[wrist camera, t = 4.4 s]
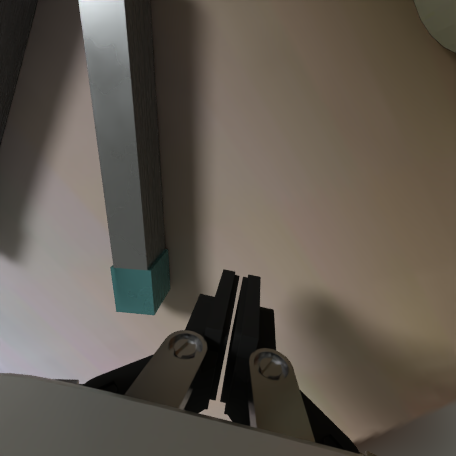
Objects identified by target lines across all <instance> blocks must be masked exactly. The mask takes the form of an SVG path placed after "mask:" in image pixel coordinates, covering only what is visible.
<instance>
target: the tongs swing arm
mask: <svg viewBox="0 0 456 456" xmlns="http://www.w3.org/2000/svg"><path fill="white" fill-rule="evenodd" d="M78 1H79V8H80V16H81V23H82V31H83V39H84V46H85V54H86V61H87V69H88V76H89V84H90V92H91V99H92V107H93V114H94V122H95V129H96V137H97V145H98V152H99V160H100V167H101V175H102V182H103V190H104V198H105V205H106V213H107V220H108V228H109V235H110V243H111V251H112V258H113V266H112V267H110V268H111V275H112V283H113V290H114V297H115V304H116V312H126V313H136V314H147V315H155V313H156V312H157V310H158V308H159V307H160V305H161V303H162V302H163V300H164V298H165V297H166V295H167V293H168V292H169V290H170V274H169V257H168V249H165V238H164V222H163V205H162V189H161V172H160V156H159V139H158V123H157V106H156V90H155V73H154V57H153V40H152V24H151V7H150V0H78Z"/></svg>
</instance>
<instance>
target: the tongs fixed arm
mask: <svg viewBox="0 0 456 456" xmlns="http://www.w3.org/2000/svg"><path fill="white" fill-rule="evenodd" d="M37 1H38V0H0V144H1V140H2V136H3V132H4V128H5V124H6V121H7V117H8V113H9V109H10V105H11V101H12V97H13V93H14V90H15V86H16V82H17V78H18V74H19V70H20V66H21V63H22V59H23V55H24V51H25V47H26V43H27V39H28V35H29V32H30V28H31V24H32V20H33V16H34V12H35V8H36V5H37Z"/></svg>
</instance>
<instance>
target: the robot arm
mask: <svg viewBox="0 0 456 456" xmlns="http://www.w3.org/2000/svg"><path fill="white" fill-rule="evenodd" d="M238 281H239V276H237V275H235V272H234V271H229V270H223V273H222V276H221V279H220V283H219V286H218V289H217V292H216V295H215V297H212V296H208V295H203V294H200V296H199V298H198V300H197V303H196V305H195V307H194V310H193V312H192V315H191V317H190V319H189V322H188V324H187V327H186V329H185V330H181V331H176V332H174V333H172V334H170V335H169V336H168V337H167V338H166V339H165V340H164V342H163V343H162V344H161V346H160V347H159V348H158V350H157V351H156V352H155V354H154V355H151V356H148V357H146V358H143V359H141V360H138V361H136V362H133V363H130V364H128V365H125V366H123V367H120V368H118V369H115V370H112V371H110V372H107V373H105V374H102V375H100V376H97V377H95V378H93V379H91V380H89V381H88V382H86V383H85V384H79V380H64V379H48V378H43V377H37V376H32V375H23V374H13V373H0V456H377V455H375V454H372V453H370V452H368V451H366V452H365V454H362V453H360V452H359V451H358V449H357V447H356V446H355V445H354V444H353V442H352V441H351V440H350V439H349V438H348V437H347V436H346V435H345V434H344V433H343V432H342V431H341V430H340V429H339V428H338V427H337V426H336V425H335V424H334V423H333V422H332V421H331V420H330V419H329V418H328V417H327V416H326V415H325V414H324V413H323V412H322V411H321V410H320V409H319V408H318V407H317V406H316V405H315V404H314V403H313V402H312V401H311V400H310V399H309V398H308V397H307V396H306V395H305V394H304V393H303V392H302V391H301V390H300V389H299V386H298V383H297V379H296V376H295V373H294V369H293V367H292V365H291V362H290V361H289V360H288V359H287V358H286V357H285V356H284V355H283V354H281V353H280V352H278V351H276V341H275V323H274V310H273V309H268V308H263V307H260V277H258V276H253V275H248V278H247V277H243V280H242V285H241V290H240V295H239V300H238V304H237V309H236V314H235V319H234V324H233V329H232V334H231V340H230V346H229V352H228V358H227V364H226V370H225V376H224V382H223V388H222V394H221V400H220V402H224V403H226V405H225V412H224V414H227V415H228V416H229V417H230V419H231V420H232V422H231V421H227V420H223V419H219V418H215V417H211V416H207V415H203V414H199V412H201V411H203V410H204V409H208V404H209V400H210V399H211V400H216V395H217V390H218V385H219V380H220V375H221V370H222V365H223V360H224V355H225V350H226V345H227V340H228V335H229V330H230V325H231V319H232V314H233V308H234V303H235V298H236V292H237V287H238Z"/></svg>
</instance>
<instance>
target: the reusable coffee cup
mask: <svg viewBox="0 0 456 456" xmlns="http://www.w3.org/2000/svg"><path fill="white" fill-rule="evenodd" d="M414 3H415V6H416V8H417V11H418V14H419V16H420V19H421V21H422V22H423V24H424V25H425V27H426V28H427V30H428V31H429V33H430V35H431V36H432V37H434V38H435V39H436V40H437V41H438V42H439V43H440V44H441V45H442V46H444V47H445V48H447V49H449V50H451V51H453V52H455V53H456V0H414Z"/></svg>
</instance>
